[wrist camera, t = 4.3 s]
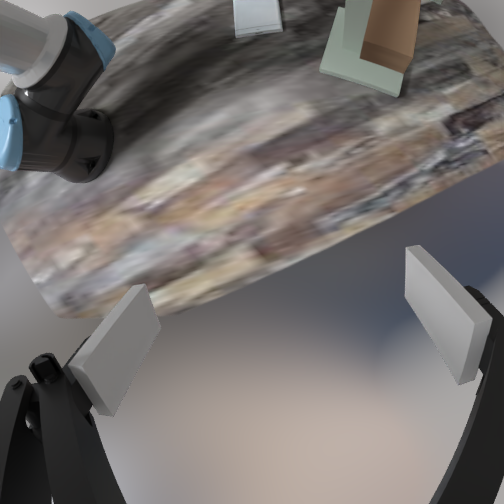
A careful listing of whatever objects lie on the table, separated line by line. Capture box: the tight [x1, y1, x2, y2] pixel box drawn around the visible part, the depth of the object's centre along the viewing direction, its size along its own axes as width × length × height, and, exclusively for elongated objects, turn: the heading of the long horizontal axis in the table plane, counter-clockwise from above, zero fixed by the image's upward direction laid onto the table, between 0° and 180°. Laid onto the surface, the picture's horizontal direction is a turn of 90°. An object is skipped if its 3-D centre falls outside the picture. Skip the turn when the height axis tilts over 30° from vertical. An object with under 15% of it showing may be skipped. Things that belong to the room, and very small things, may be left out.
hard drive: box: [233, 0, 283, 38], centre depth 43 cm, size 2×8×12 cm
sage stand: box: [319, 0, 443, 98], centre depth 26 cm, size 13×16×29 cm
